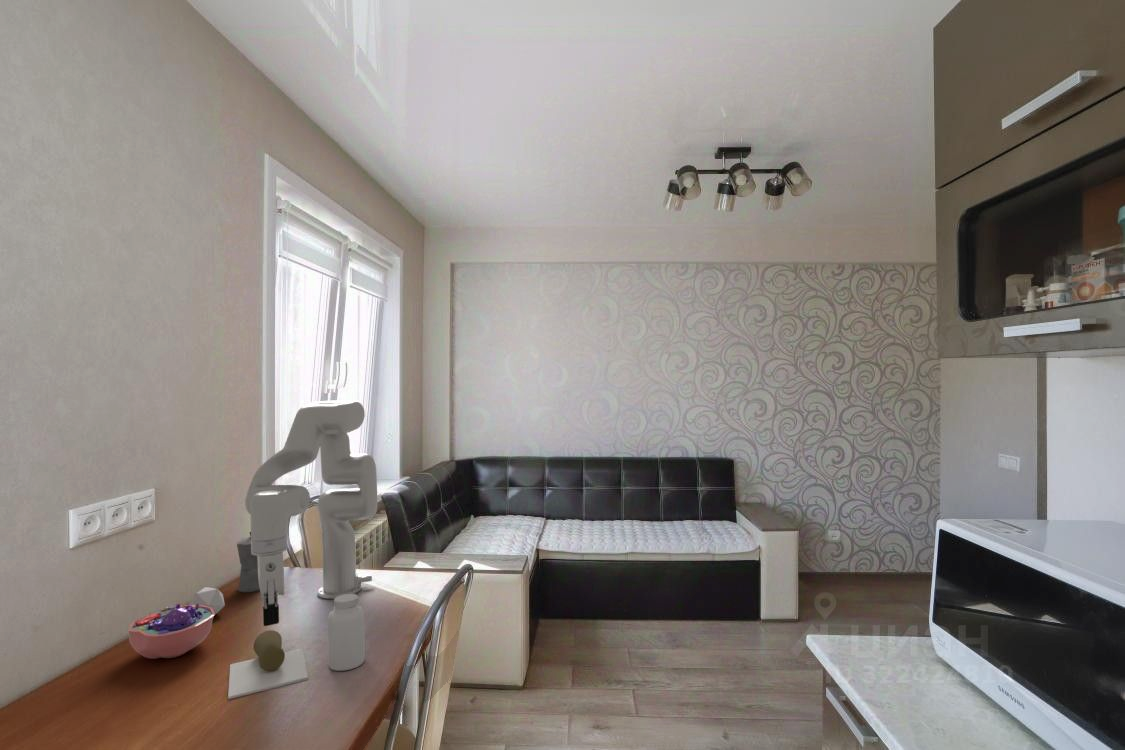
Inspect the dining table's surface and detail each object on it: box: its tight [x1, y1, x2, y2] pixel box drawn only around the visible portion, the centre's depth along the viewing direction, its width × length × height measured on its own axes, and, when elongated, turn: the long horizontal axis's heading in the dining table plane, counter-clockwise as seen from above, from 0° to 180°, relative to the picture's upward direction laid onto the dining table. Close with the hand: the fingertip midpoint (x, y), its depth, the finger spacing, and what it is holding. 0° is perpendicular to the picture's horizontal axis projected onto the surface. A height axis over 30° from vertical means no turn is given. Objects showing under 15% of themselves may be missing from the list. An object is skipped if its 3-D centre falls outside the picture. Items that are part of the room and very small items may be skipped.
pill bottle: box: [327, 593, 366, 672], centre depth 131 cm, size 8×8×15 cm
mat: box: [227, 647, 309, 700], centre depth 128 cm, size 15×16×1 cm
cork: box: [253, 629, 285, 671], centre depth 131 cm, size 6×6×11 cm
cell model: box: [128, 603, 216, 660], centre depth 139 cm, size 17×20×11 cm
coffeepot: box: [236, 531, 260, 593], centre depth 183 cm, size 15×9×18 cm, turn 51°
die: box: [188, 586, 226, 615], centre depth 161 cm, size 8×9×10 cm
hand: (271, 623), depth 134 cm, fingers closed
